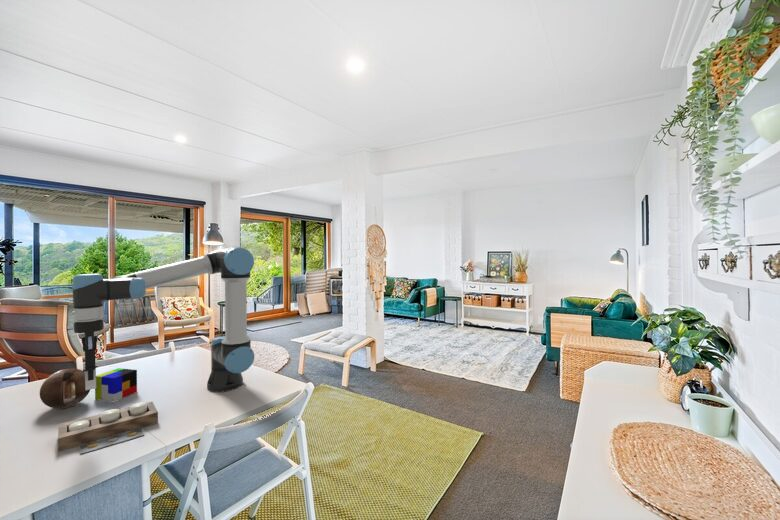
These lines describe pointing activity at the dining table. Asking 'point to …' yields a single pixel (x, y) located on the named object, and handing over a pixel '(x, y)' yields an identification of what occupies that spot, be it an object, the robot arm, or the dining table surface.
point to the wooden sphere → (64, 389)
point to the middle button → (109, 415)
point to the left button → (79, 425)
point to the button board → (106, 430)
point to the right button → (138, 408)
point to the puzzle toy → (116, 384)
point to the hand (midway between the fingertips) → (90, 388)
